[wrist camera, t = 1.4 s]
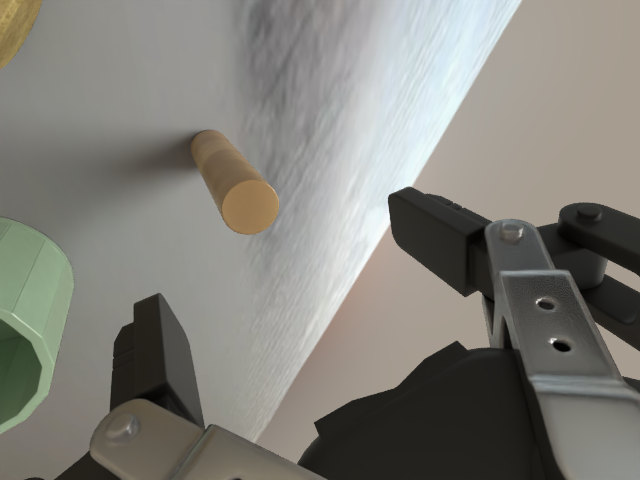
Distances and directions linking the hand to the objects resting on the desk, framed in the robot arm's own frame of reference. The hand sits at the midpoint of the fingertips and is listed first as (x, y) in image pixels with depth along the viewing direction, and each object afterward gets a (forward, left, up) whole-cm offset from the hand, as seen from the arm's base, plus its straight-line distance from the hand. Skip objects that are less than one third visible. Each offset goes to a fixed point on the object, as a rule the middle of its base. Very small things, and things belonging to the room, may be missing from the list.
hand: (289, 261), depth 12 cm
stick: (0, 0, -15) cm, 15 cm away
